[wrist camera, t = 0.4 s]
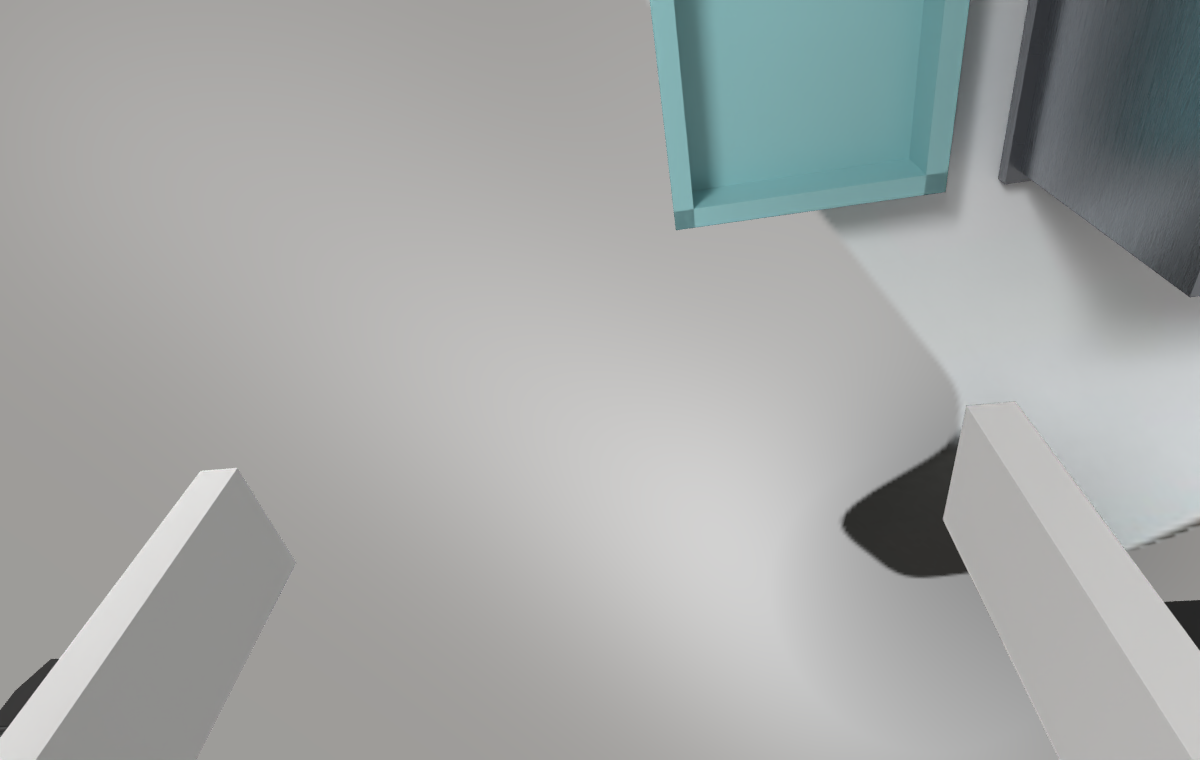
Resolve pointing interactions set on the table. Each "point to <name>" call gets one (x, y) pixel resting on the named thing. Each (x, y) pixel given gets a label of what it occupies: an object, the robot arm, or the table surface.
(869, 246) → the table surface
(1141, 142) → the controller unit
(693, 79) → the parts tray
